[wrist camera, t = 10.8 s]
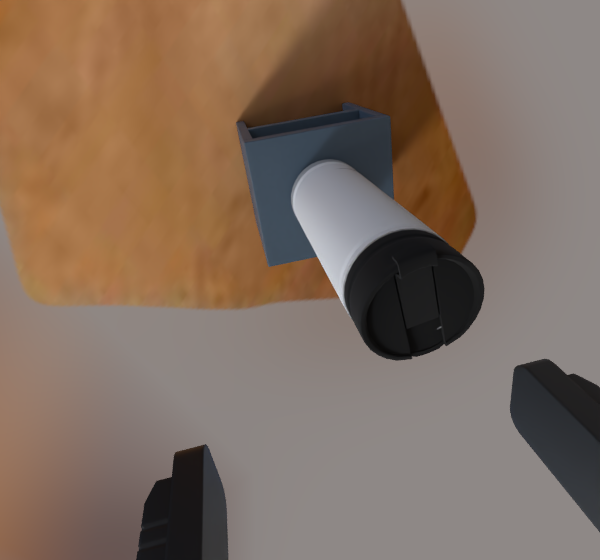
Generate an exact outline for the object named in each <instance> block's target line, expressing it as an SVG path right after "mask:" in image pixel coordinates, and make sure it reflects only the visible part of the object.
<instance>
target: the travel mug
mask: <svg viewBox="0 0 600 560" xmlns="http://www.w3.org/2000/svg"><path fill="white" fill-rule="evenodd" d="M291 204H292V208H293V211H294V213H295V215H296V217H297V219H298V221H299V223H300V225H301V227H302V229H303V230H304V232H305V234H306V236H307V238H308V240H309V242H310V244H311V245H312V247H313V249H314V251H315V253H316V255H317V257H318V259H319V260H320V262H321V264H322V266H323V268H324V270H325V272H326V274H327V275H328V277H329V279H330V281H331V283H332V285H333V287H334V288H335V290H336V292H337V294H338V296H339V298H340V300H341V302H342V303H343V305H344V307H345V308H346V311H347V313H348V315H349V316H350V317H351V319H352V320H353V321H354V323H355V325H356V327H357V329H358V331H359V333H360V335H361V337H362V338H363V340H364V342H365V343H366V345H367V346H368V347H369V348H370V350H372V351H373V352H375V353H376V354H377V355H379V356H382V357H384V358H386V359H392V360H406V359H412V356H416V357H417V356H420V355H424V354H427V353H430V352H432V351H434V350H436V349H439V348H440V347H441V346H442V345H443V344H445V345H446V346H447V345H449V344H450V343H452V342H453V341H455V340H456V339H458V338H460V337H461V336H462V335H463V334H464V333H465V332H466V331H467V329H469V327H470V325H471V324H472V323H473V321H474V320H475V319H476V317H477V315H478V313H479V311H480V309H481V305H482V302H483V299H484V284H483V279H482V276H481V274H480V272H479V270H478V269H477V268H476V267H475V266H474V265H473V263H471V262H470V261H469V260H467V259H466V258H465V257H464V256H463V255H461V254H460V253H459V252H458V251H456V250H455V249H454V248H452V247H451V246H450V245H449V244H448V243H447V242H446V241H445V240H444V239H443V238H442V237H440V236H439V235H437V234H436V233H435V232H434V231H433V230H431V229H430V228H429V227H428V226H426V225H425V224H424V223H422V222H421V221H420V220H419V219H417V218H416V217H415V216H414V215H412V214H411V213H410V212H408V211H407V210H406V209H405V208H403V207H402V206H401V205H399V204H398V203H397V202H396V201H394V200H393V199H392V198H391V197H389V196H388V195H387V194H385V193H384V192H383V191H382V190H380V189H379V188H378V187H376V186H375V185H374V184H373V183H371V182H370V181H369V180H368V179H366V178H365V177H364V176H362V175H361V174H360V173H359V172H357V171H356V170H355V169H353V168H352V167H351V166H349V165H348V164H346V163H344V162H342V161H339V160H334V159H325V160H321V161H317V162H315V163H313V164H311V165H309V166H308V167H306V168H305V169H304V170H303V171H302V172H301V173H300V174H299V176H298V177H297V179H296V180H295V182H294V185H293V188H292V193H291Z"/></svg>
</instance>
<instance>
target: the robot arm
mask: <svg viewBox="0 0 600 560" xmlns="http://www.w3.org/2000/svg"><path fill="white" fill-rule="evenodd" d="M510 413H511V417H512V420H513V423H514V425H515V427H516V428H517V430H518V432H519V433H520V434H521V435H522V437H523V438H524V439H525V440H526V442H527V443H528V444H529V445H530V447H531V448H532V449H533V450H534V452H535V453H536V454H537V455H538V456H539V458H540V459H541V460H542V461H543V463H544V464H545V465H546V466H547V467H548V469H549V470H550V471H551V473H552V474H553V475H554V476H555V477H556V479H557V480H558V481H559V482H560V484H561V485H562V486H563V487H564V488H565V490H566V491H567V492H568V493H569V495H570V496H571V497H572V498H573V500H574V501H575V502H576V503H577V505H578V506H579V507H580V508H581V510H582V511H583V512H584V513H585V514H586V516H587V517H588V518H589V519H590V521H591V522H592V523H593V524H594V526H595V527H596V528H597V529H598V531H599V532H600V387H599V386H597V385H595V384H594V383H592V382H590V381H588V380H586V379H584V378H582V377H580V376H578V375H576V374H570V375H566V374H565V373H564V372H563V371H562V370H561V369H560V368H559V367H558V366H557V365H556V364H554V363H553V362H552V361H550V360H548V359H542V360H538V361H534V362H530V363H526V364H522V365H518V366H516V367H515V369H514V374H513V384H512V393H511V404H510ZM141 528H142V531H141V532H140V539H139V545H138V547H139V551H138V552H137V559H136V560H228V535H227V508H226V499H225V493H224V489H223V485H222V482H221V479H220V477H219V474H218V471H217V469H216V466H215V464H214V461H213V458H212V456H211V453H210V450H209V448H208V446H207V445H206V444H205V445H202V446H198V447H194V448H190V449H186V450H182V451H179V452H176V453H175V455H174V461H173V472H172V477H171V478H167V479H163V480H159V481H157V482H156V483H155V485H154V487H153V488H152V490H151V492H150V494H149V496H148V498H147V500H146V502H145V504H144V511H143V518H142V525H141Z"/></svg>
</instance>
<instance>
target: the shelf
mask: <svg viewBox="0 0 600 560" xmlns="http://www.w3.org/2000/svg"><path fill="white" fill-rule="evenodd" d="M342 107H343V111H340V112H334V113H329V114H323V115H318V116H312V117H307V118H301V119H295V120H290V121H284V122H279V123H273V124H268V125H262V126H257V127H251V128H248V129H247V127H246V125H245V123H244V121H241V122H236V125H237V129H238V134H239V139H240V144H241V149H242V154H243V159H244V164H245V169H246V174H247V179H248V184H249V189H250V193H251V198H252V203H253V208H254V213H255V218H256V223H257V227H258V230H259V234H260V237H261V241H262V245H263V248H264V252H265V256H266V259H267V263H268V266H269V267H270V266H275V265H280V264H285V263H289V262H294V261H299V260H304V259H308V258H313V257H317V255H316V253H315V251H314V249H313V247H312V245H311V244H310V242H309V240H308V238H307V236H306V234H305V232H304V230H303V229H302V227H301V225H300V223H299V221H298V219H297V217H296V215H295V213H294V211H293V208H292V204H291V193H292V188H293V185H294V182H295V180H296V179H297V177H298V176H299V174H300V173H301V172H302V171H303V170H304V169H305V168H306V167H308V166H309V165H311V164H313V163H315V162H317V161H321V160H325V159H334V160H339V161H342V162H344V163H346V164H348V165H349V166H351V167H352V168H353V169H355V170H356V171H357V172H359V173H360V174H361V175H362V176H364V177H365V178H366V179H368V180H369V181H370V182H371V183H373V184H374V185H375V186H376V187H378V188H379V189H380V190H382V191H383V192H384V193H385V194H387V195H388V196H389V197H391V198H392V199H393V200H394V192H393V169H392V146H391V122H390V116H388V115H385V114H382V113H379V112H376V111H373V110H370V109H367V108H364V107H361V106H358V105H355V104H352V103H349V102H348V103H343V104H342Z"/></svg>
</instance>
